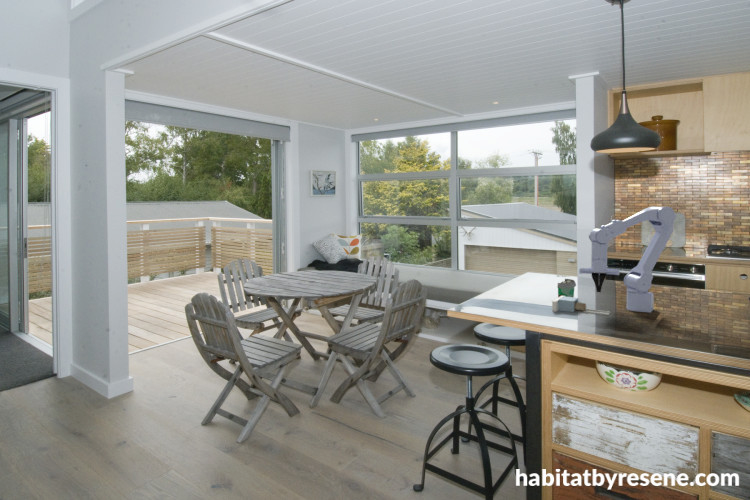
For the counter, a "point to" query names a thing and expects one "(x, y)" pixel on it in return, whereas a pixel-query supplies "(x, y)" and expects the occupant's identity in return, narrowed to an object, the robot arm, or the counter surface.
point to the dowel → (580, 306)
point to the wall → (555, 304)
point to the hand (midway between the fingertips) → (598, 291)
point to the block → (567, 303)
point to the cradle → (596, 312)
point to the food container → (566, 288)
